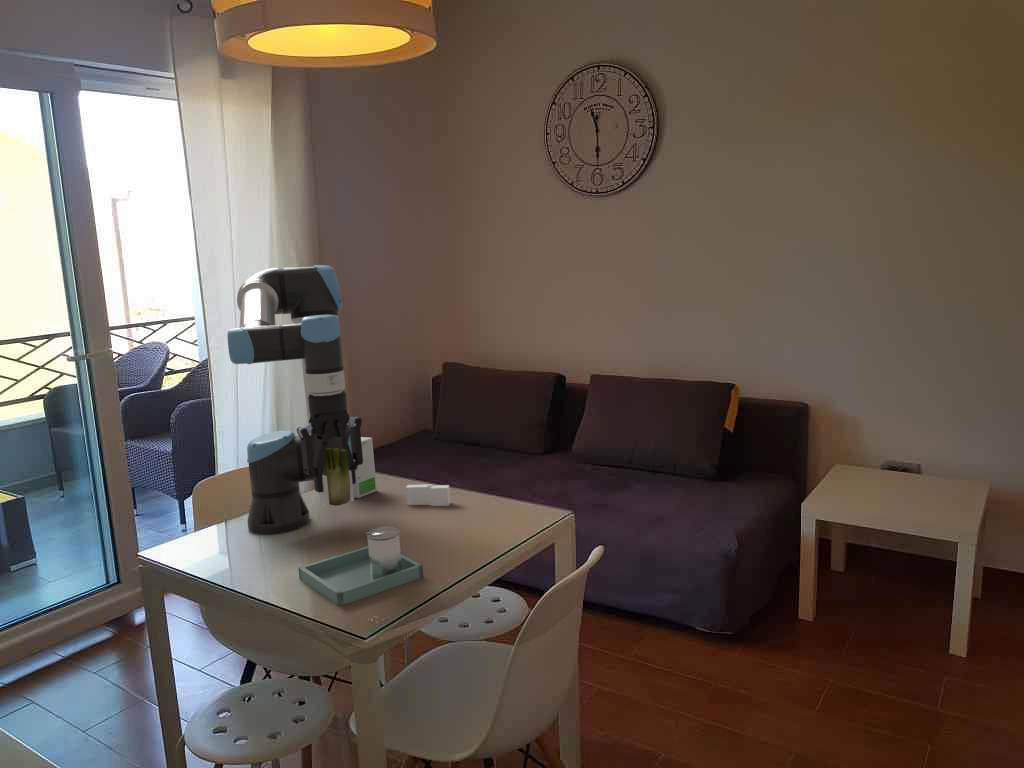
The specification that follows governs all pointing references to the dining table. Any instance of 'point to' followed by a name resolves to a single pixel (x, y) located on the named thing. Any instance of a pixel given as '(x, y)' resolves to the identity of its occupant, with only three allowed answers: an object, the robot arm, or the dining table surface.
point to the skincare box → (365, 471)
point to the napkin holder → (428, 495)
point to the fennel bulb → (337, 476)
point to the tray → (354, 576)
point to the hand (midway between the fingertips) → (337, 502)
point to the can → (384, 551)
